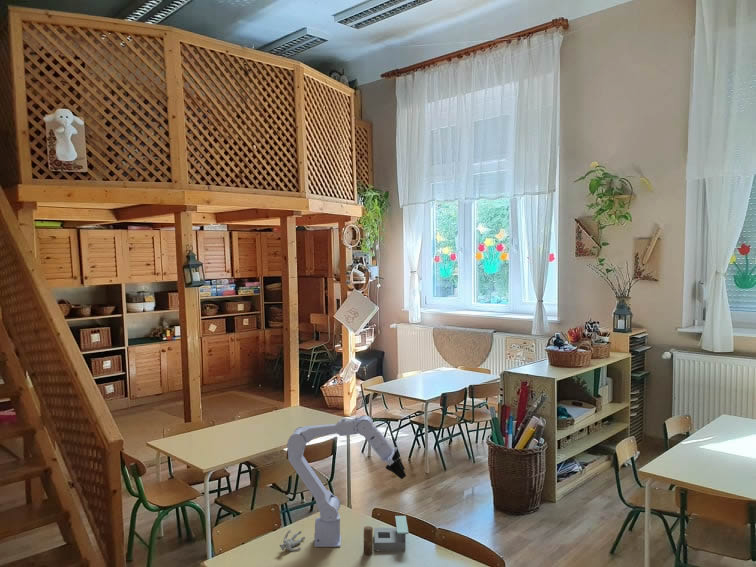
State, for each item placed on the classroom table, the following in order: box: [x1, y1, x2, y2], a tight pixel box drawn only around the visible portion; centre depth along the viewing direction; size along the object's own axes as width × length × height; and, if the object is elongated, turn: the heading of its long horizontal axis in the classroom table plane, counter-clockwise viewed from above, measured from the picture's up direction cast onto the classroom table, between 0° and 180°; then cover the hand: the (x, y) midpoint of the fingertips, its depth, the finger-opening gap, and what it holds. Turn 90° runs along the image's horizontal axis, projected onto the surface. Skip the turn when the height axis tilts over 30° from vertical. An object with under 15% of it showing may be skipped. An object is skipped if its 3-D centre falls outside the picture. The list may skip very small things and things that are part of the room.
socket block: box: [373, 515, 409, 552], centre depth 204 cm, size 12×13×7 cm
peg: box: [363, 525, 374, 556], centre depth 196 cm, size 3×3×9 cm
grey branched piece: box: [279, 529, 306, 552], centre depth 200 cm, size 8×5×12 cm
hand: (403, 474), depth 201 cm, fingers open, 7 cm apart
